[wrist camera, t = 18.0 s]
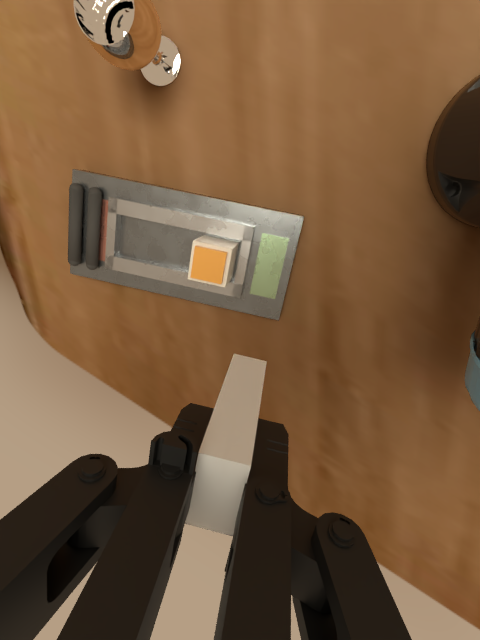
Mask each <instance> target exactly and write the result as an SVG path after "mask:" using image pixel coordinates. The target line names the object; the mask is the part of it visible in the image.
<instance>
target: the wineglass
mask: <svg viewBox="0 0 480 640" xmlns="http://www.w3.org/2000/svg"><path fill="white" fill-rule="evenodd" d="M74 12H75V16H76V19H77V22H78V25H79V26H80V28H81V30H82V31H83V33H84V35H85V36H86V38H87V40H88V41H89V42H90V44H91V45H92V46H93V48H94V49H95V50H96V51H97V52H98V53H99V54H100V55H101V56H102V57H103V58H104V59H105V60H106V61H108V62H109V63H110V64H112V65H114V66H116V67H118V68H121V69H124V70H130V71H133V70H139V69H141V72H142V74H143V76H144V77H145V79H146V80H147V81H148V82H150V83H151V84H153V85H156V86H166V85H169V84H170V83H172V82H173V81H174V80H175V79H176V77H177V76H178V74H179V71H180V67H181V57H180V52H179V50H178V48H177V46H176V44H175V43H174V42H173V41H172V40H171V39H169V38H168V37H166V36H163V35H162V33H161V24H160V19H159V16H158V13H157V11H156V9H155V7H154V5H153V3H152V1H151V0H74Z"/></svg>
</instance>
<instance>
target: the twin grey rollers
mask: <svg viewBox="0 0 480 640" xmlns="http://www.w3.org/2000/svg"><path fill="white" fill-rule="evenodd" d="M101 205H102V192H101V190H100V189H99V188H97V187H92V188H90V189H89V192H88V216H87V242H86V267H87V268H88V269H90V270H95V269H97V267H98V264H99V244H100V225H101ZM82 213H83V187H82V186H81V185H80V184H78V183H73V184H71V185H70V188H69V233H68V262H69V264H70V265H72V266H78V265H79V264H80V262H81V243H82Z"/></svg>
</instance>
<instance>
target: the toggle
mask: <svg viewBox="0 0 480 640" xmlns="http://www.w3.org/2000/svg"><path fill="white" fill-rule="evenodd" d="M238 246H239V242H236V241H232V240H227V239H222V238H218V237H213V236H208V235H203V236H201V237H199V238H197V239H195V240H193V244H192V251H191V258H190V265H189V272H188V279H189V280H193V281H198V282H202V283H207V284H211V285H216V286H221V287H226V286H227V284H228V283H229V282H230V280H231V279H232V277H233V273H234V268H235V262H236V257H237V252H238Z"/></svg>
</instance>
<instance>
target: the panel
mask: <svg viewBox="0 0 480 640" xmlns="http://www.w3.org/2000/svg"><path fill="white" fill-rule="evenodd" d="M73 183H78V184H80V185H81V186H82V187H83V213H82V243H81V262H80V264H79V265H78V266H72V265H70V273H71V274H75V275H79V276H84V277H88V278H93V279H97V280H102V281H106V282H110V283H115V284H119V285H124V286H128V287H133V288H137V289H142V290H146V291H150V292H155V293H159V294H164V295H168V296H173V297H177V298H181V299H186V300H190V301H195V302H199V303H204V304H208V305H213V306H217V307H221V308H226V309H230V310H235V311H239V312H244V313H248V314H252V315H257V316H261V317H266V318H270V319H275V320H279V317H280V313H281V309H282V305H283V301H284V297H285V293H286V289H287V284H288V280H289V276H290V272H291V268H292V264H293V260H294V256H295V252H296V248H297V243H298V239H299V235H300V231H301V227H302V223H303V219H304V216H302V215H298V214H293V213H288V212H283V211H278V210H273V209H268V208H264V207H259V206H254V205H249V204H244V203H239V202H235V201H230V200H225V199H220V198H215V197H210V196H206V195H201V194H196V193H191V192H186V191H181V190H177V189H172V188H167V187H162V186H157V185H152V184H148V183H143V182H138V181H133V180H128V179H123V178H119V177H114V176H109V175H104V174H99V173H94V172H90V171H85V170H77V169H73V177H72V184H73ZM92 187H97V188H99V189H100V190H101V192H102V205H101V225H100V244H99V264H98V267H97V269H95V270H90V269H88V268H87V267H86V242H87V216H88V192H89V189H90V188H92ZM203 235H208V236H213V237H218V238H222V239H227V240H232V241H236V242H239V246H238V252H237V257H236V262H235V268H234V273H233V277H232V279H231V280H230V282H229V283H228V284H227V286H226V287H221V286H216V285H211V284H207V283H202V282H198V281H193V280H189V279H188V272H189V265H190V258H191V251H192V244H193V240H195V239H197V238H199V237H201V236H203Z"/></svg>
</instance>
